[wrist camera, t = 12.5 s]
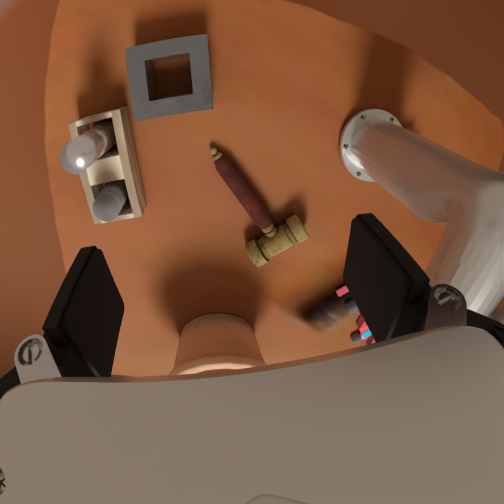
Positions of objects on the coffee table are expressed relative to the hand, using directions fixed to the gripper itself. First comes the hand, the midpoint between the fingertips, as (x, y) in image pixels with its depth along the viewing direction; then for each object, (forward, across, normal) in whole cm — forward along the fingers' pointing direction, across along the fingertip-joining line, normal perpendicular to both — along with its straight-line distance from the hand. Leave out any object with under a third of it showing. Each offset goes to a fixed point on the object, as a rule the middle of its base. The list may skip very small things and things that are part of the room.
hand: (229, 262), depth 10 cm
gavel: (+34, -4, +13) cm, 37 cm away
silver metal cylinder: (+33, +16, 0) cm, 37 cm away
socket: (+33, +5, -7) cm, 34 cm away
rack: (+33, +16, +4) cm, 37 cm away
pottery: (+34, +5, +46) cm, 57 cm away
